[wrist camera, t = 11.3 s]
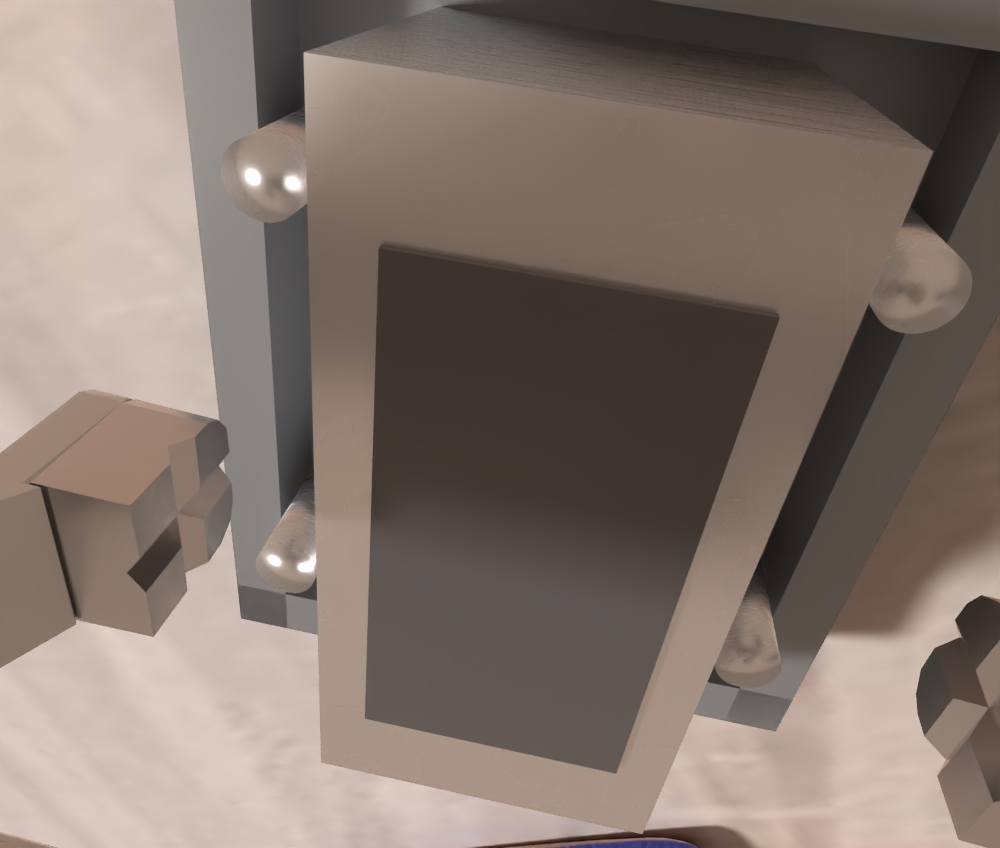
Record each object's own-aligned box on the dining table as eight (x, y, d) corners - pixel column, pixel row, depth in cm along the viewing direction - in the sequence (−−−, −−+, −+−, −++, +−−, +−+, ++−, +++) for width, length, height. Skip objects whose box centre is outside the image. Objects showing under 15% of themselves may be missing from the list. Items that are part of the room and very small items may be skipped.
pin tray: (1070, -43, 10) (1293, -32, 6) (759, 633, 17) (787, 804, 14) (251, -155, 10) (68, -199, 7) (288, 538, 18) (206, 677, 14)
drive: (811, 62, 10) (938, 154, 6) (642, 593, 15) (642, 840, 11) (441, 6, 10) (299, 53, 6) (406, 545, 16) (318, 768, 12)
